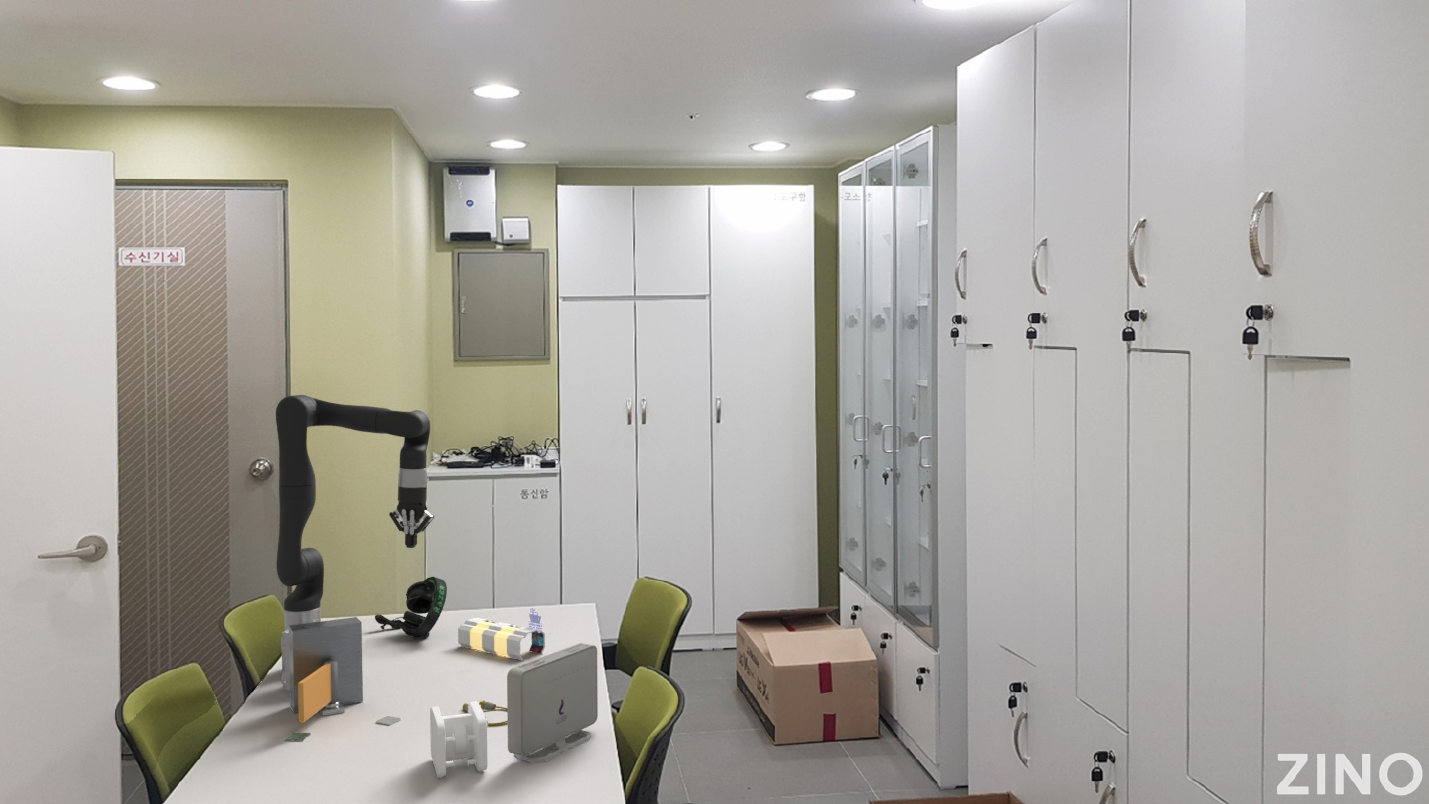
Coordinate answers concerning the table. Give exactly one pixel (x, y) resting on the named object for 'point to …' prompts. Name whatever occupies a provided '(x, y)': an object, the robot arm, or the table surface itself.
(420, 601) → the headset
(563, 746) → the network device
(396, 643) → the table surface
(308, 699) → the orange rectangular panel
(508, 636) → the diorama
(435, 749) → the cable organizer
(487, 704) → the extension cord
